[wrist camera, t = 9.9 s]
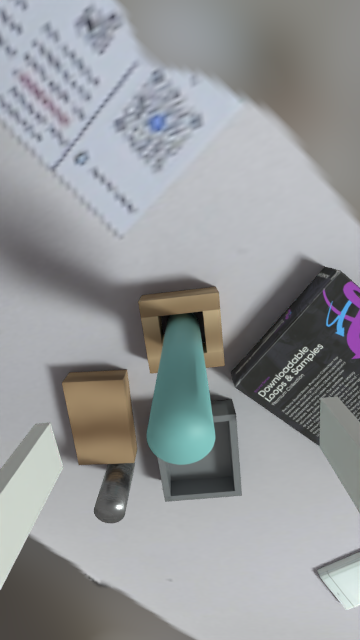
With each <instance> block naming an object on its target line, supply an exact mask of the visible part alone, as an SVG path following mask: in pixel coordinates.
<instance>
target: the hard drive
mask: <svg viewBox="0 0 360 640" xmlns="http://www.w3.org/2000/svg"><path fill="white" fill-rule="evenodd" d="M317 571H318V573H319V575H320V577H321V579H322V580H323V582H324V583H325V584H326V585H327V587H328V588H329V589H330V590H331V592H332V593H333V594H334V595H335V597H336V598H337V599H338V600H339V602H340V603H341V604H342V605H343V606H344V608H345V609H346V610H348V609H351V608H354V607H357V606H359V605H360V552H358V553H356V554H353V555H351V556H349V557H346V558H344V559H341V560H339V561H337V562H334V563H332V564H330V565H327V566H325V567H323V568H320V569H318V570H317Z"/></svg>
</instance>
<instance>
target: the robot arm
mask: <svg viewBox="0 0 360 640" xmlns="http://www.w3.org/2000/svg"><path fill="white" fill-rule="evenodd" d="M320 448H321V450H322V451H323V453H324V455H325V456H326V458H327V460H328V461H329V463H330V465H331V466H332V468H333V470H334V471H335V473H336V475H337V476H338V478H339V480H340V481H341V483H342V484H343V486H344V488H345V489H346V491H347V493H348V494H349V496H350V498H351V499H352V501H353V503H354V504H355V506H356V508H357V509H358V511H359V513H360V422H359V421H358V419H357V418H356V417H355V416H354V415H353V414H352V413H351V412H350V410H349V409H348V408H347V407H346V406H345V405H344V404H343V403H342V401H341V400H340V399H339V398H338V397H329V398H321V406H320ZM62 469H63V464H62V461H61V458H60V454H59V451H58V447H57V444H56V441H55V437H54V434H53V430H52V427H51V423H41V424H35V425H34V426H33V428H32V429H31V430H30V432H29V433H28V434H27V435H26V437H25V438H24V439H23V441H22V442H21V443H20V445H19V446H18V447H17V448H16V450H15V451H14V452H13V454H12V455H11V456H10V458H9V459H8V460H7V461H6V463H5V464H4V465H3V467H2V468H1V469H0V590H1V588H2V586H3V584H4V582H5V580H6V578H7V576H8V574H9V572H10V570H11V568H12V566H13V564H14V562H15V560H16V558H17V557H18V554H19V553H20V551H21V549H22V547H23V544H24V542H25V541H26V539H27V537H28V535H29V533H30V531H31V529H32V527H33V525H34V523H35V521H36V520H37V518H38V516H39V514H40V512H41V510H42V508H43V506H44V504H45V502H46V500H47V498H48V496H49V494H50V492H51V490H52V488H53V486H54V485H55V483H56V481H57V479H58V477H59V475H60V473H61V471H62Z"/></svg>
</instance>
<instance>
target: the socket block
mask: <svg viewBox="0 0 360 640" xmlns="http://www.w3.org/2000/svg"><path fill="white" fill-rule="evenodd" d="M138 304H139V310H140V316H141V322H142V327H143V333H144V339H145V345H146V351H147V357H148V363H149V369H150V373H158V369H159V363H160V358H161V352H162V347H163V342H164V333H163V326H162V319H161V316H165V315H174V314H183V313H192V312H201V311H202V315H203V325H204V335H205V343H202V346H203V353H204V360H205V367H206V368H209V367H219V366H225V364H224V351H223V339H222V327H221V315H220V302H219V292H218V290H217V288H216V287H209V288H200V289H192V290H183V291H174V292H165V293H157V294H148V295H142V296H141V298H140V300H139V301H138Z"/></svg>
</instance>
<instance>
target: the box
mask: <svg viewBox="0 0 360 640" xmlns="http://www.w3.org/2000/svg"><path fill="white" fill-rule="evenodd" d="M231 375H232V379H233V382H234V386H235V387H236V388H237V389H238V390H240V391H241V392H243V393H244V394H246V395H247V396H248V397H250V398H251V399H253V400H254V401H256V402H257V403H258V404H260V405H261V406H263V407H264V408H266V409H267V410H269V411H270V412H271V413H273V414H274V415H276V416H277V417H279V418H280V419H281V420H283V421H284V422H286V423H287V424H289V425H290V426H291V427H293V428H294V429H296V430H297V431H299V432H300V433H302V434H303V435H304V436H306V437H307V438H309V439H310V440H312V441H313V442H314V443H316V444H317V445H319V446H320V406H321V398H329V397H338V398H339V399H340V400H341V401H342V403H343V404H344V405H345V406H346V407H347V408H348V409H349V410H350V412H351V413H352V414H353V415H354V416H355V417H356V418H357V419H358V421H359V422H360V288H359V287H358V286H357V285H356V284H355V283H354V282H353V281H352V280H350V279H349V278H348V277H347V276H346V275H345V274H344V273H342V272H341V271H340V270H336V269H332V268H328V267H325V268H324V269H323V270H322V271H321V272H320V273H319V275H318V276H317V277H316V278H315V279H314V280H313V281H312V283H311V284H310V285H309V286H308V287H307V288H306V289H305V290H304V292H303V293H302V294H301V295H300V296H299V297H298V298H297V299H296V301H295V302H294V303H293V304H292V305H291V306H290V307H289V308H288V310H287V311H286V312H285V313H284V314H283V315H282V316H281V317H280V319H279V320H278V321H277V322H276V323H275V324H274V325H273V326H272V328H271V329H270V330H269V331H268V332H267V333H266V334H265V335H264V337H263V338H262V339H261V340H260V341H259V342H258V343H257V344H256V346H255V347H254V348H253V349H252V350H251V351H250V352H249V353H248V354H247V355H246V356H245V358H244V359H243V360H242V361H241V362H240V363H239V364H238V365H237V367H236V368H235V369H234V370H233V371H232V372H231Z"/></svg>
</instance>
